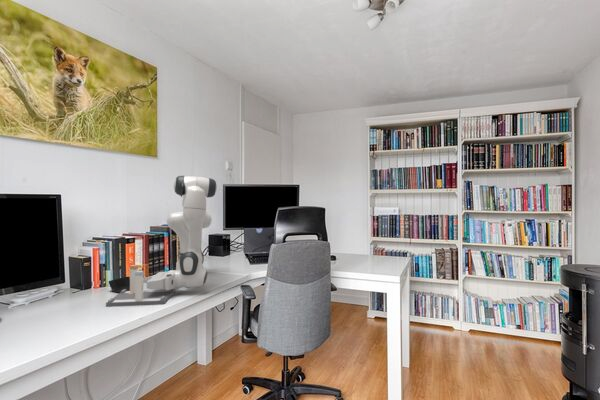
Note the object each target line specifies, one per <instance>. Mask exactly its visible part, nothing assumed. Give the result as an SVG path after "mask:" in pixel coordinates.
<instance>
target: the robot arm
mask: <svg viewBox="0 0 600 400" xmlns="http://www.w3.org/2000/svg"><path fill="white" fill-rule="evenodd" d="M172 187H173V190H174V193H175V194H176V195H178V196H180V198H182V201H181V204H182V207H183V209H182V211H174V212H171V213H169V214H168V216H167V218H166V223H167V227H168V228H169V229H170V230H172V231H173V232H174V233H175V234H176V235H177V237H178V241H179V253H178V258H179V259H178V260H177V261H176V267H175V269H170V270H168V271H158V272H157V273H156V274H155V275H152V276H148V277H143V284H144V283H145V284H146V289H148V290H171V289H174V290H175V289H181V288H186V289H195V288H196V289H197V288H201V287H203V286H204V285H205V284H206V282H207V279H208V272H207V269H205V267H204V266H203V264H204V260H205V259H204V255H203V251H202V234H203V232H202V231H203V229H207V228H209V227H210V225H212V216H211V214H210V213H209V212H208V211H207V198H213V197H215V195H216V193H217V191H218V185H217V182H216V180H215V179H213V178H208V177H202V176H199V175H198V176H196V175H195V176H192V175H189V176H188V175H187V176H185V175H178V176H176V177H175V179H174V181H173V185H172Z"/></svg>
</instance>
